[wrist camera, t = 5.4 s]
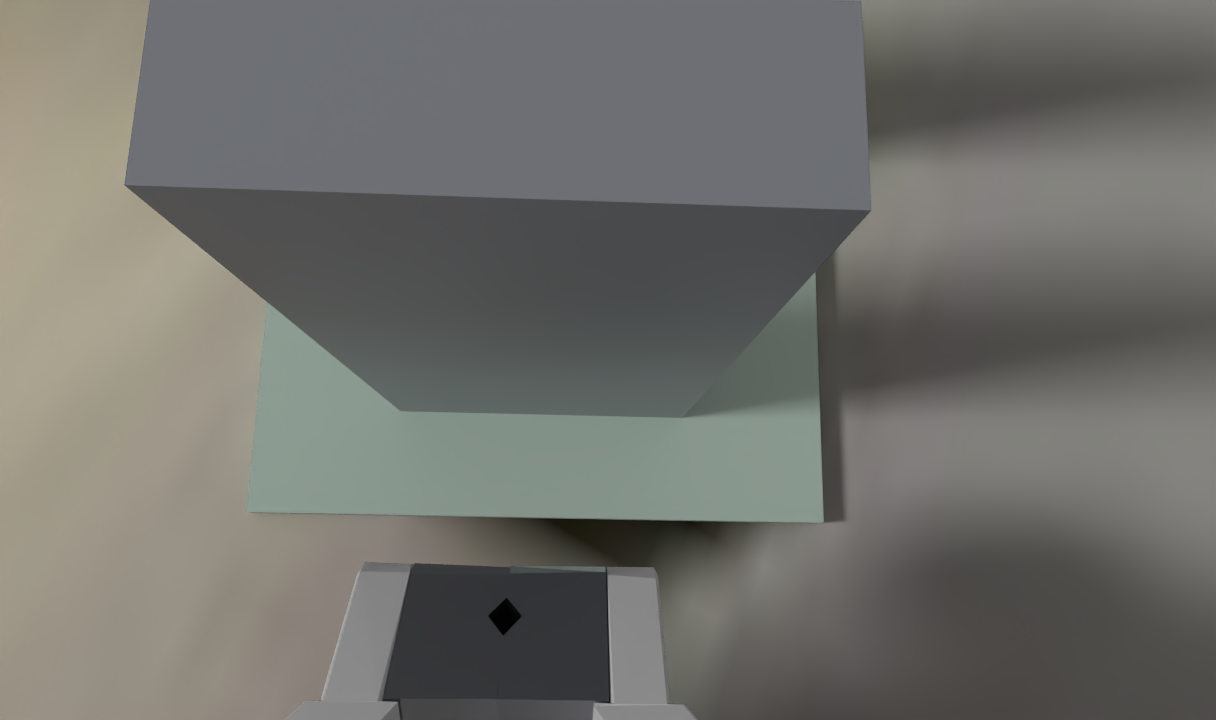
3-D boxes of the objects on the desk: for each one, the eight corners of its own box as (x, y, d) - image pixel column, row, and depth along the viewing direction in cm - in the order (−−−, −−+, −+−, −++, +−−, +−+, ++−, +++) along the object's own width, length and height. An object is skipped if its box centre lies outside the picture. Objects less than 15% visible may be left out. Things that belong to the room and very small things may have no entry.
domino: (682, 418, 16) (870, 209, 6) (400, 410, 16) (123, 184, 6) (682, 330, 16) (861, 1, 6) (406, 323, 16) (153, -30, 6)
